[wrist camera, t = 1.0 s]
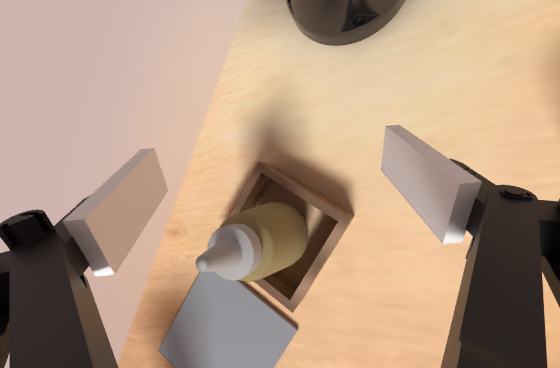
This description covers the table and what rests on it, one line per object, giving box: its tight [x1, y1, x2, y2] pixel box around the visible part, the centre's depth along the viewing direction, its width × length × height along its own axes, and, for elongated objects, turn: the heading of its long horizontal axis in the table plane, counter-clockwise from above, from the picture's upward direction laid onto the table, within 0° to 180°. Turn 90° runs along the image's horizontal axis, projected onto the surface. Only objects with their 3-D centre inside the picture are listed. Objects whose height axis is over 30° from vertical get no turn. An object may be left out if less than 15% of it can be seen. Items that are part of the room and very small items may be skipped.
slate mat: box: [159, 271, 298, 368], centre depth 39 cm, size 18×16×1 cm
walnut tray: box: [229, 162, 354, 313], centre depth 34 cm, size 13×13×4 cm
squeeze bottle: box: [196, 201, 308, 282], centre depth 28 cm, size 8×8×18 cm
